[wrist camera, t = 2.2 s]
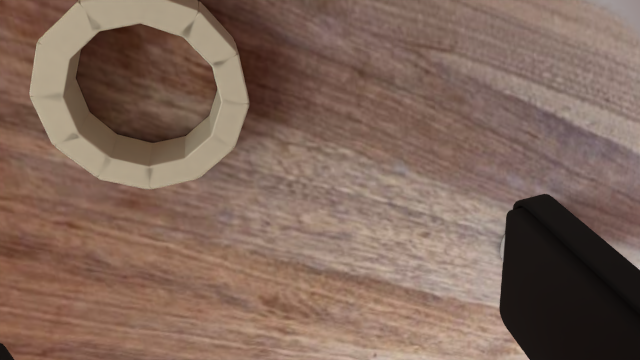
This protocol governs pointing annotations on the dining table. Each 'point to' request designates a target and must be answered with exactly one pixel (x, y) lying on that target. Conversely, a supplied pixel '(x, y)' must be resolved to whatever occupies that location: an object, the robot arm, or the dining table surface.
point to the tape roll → (120, 151)
